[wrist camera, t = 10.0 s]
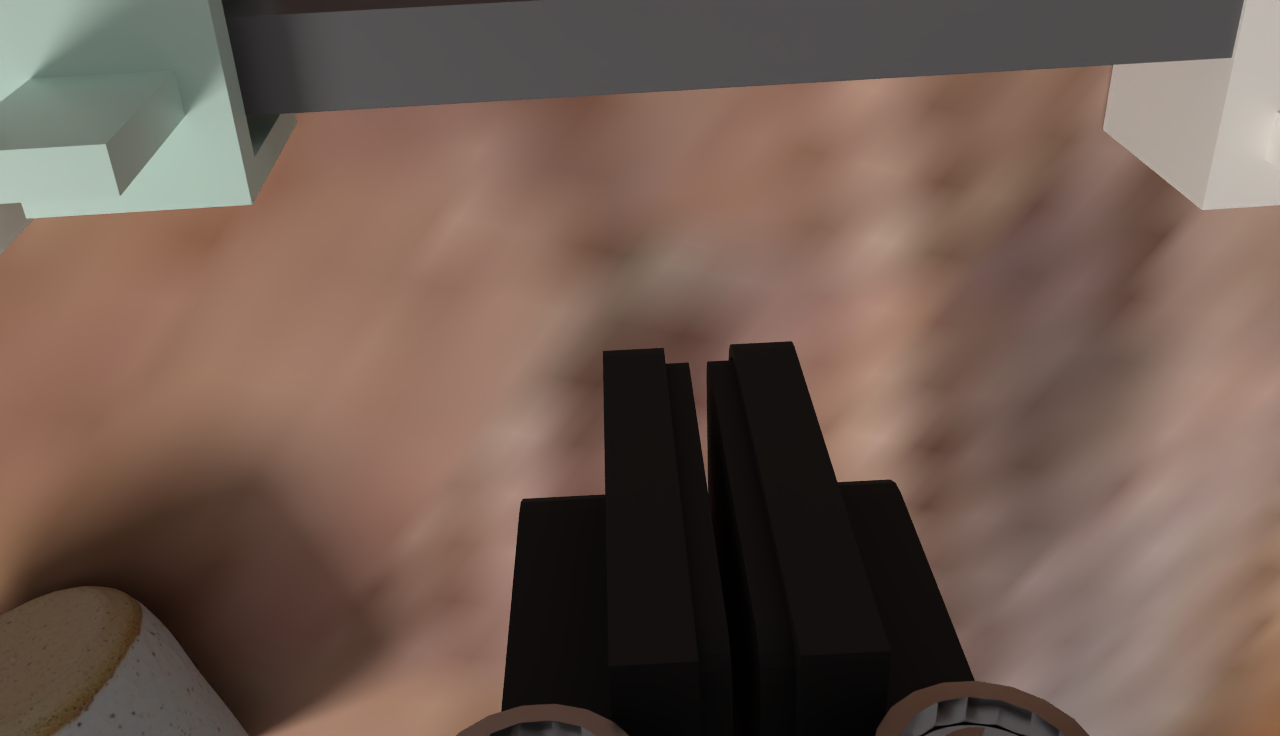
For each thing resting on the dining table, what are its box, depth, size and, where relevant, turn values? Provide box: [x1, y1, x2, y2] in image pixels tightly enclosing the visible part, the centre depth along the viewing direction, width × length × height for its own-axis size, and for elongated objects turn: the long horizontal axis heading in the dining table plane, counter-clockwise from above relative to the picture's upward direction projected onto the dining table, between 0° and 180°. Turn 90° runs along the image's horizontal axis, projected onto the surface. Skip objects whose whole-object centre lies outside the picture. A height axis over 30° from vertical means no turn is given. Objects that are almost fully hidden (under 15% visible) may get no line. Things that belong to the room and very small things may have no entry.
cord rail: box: [0, 0, 1280, 255], centre depth 23 cm, size 30×8×6 cm, turn 92°
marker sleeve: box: [0, 0, 297, 219], centre depth 21 cm, size 4×4×8 cm
